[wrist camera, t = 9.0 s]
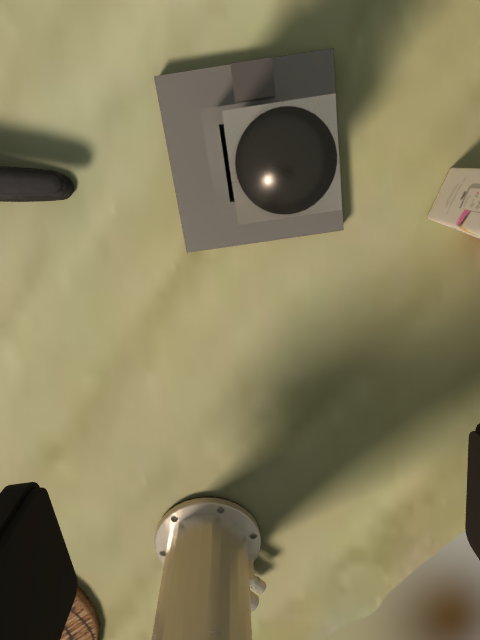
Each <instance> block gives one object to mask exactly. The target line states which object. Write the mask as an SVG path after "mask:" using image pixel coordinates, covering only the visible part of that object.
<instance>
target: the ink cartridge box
mask: <svg viewBox="0 0 480 640" xmlns="http://www.w3.org/2000/svg"><path fill="white" fill-rule="evenodd" d="M427 218H428V219H430V220H433V221H435V222H438V223H440V224H443V225H445V226H448V227H450V228H453V229H455V230H458V231H461V232H463V233H466V234H468V235H471V236H474V237H476V238H479V239H480V168H454V167H452V168H451V169H450V170H449V172H448V174H447V177H446V179H445V181H444V183H443V185H442V187H441V189H440V191H439V193H438V195H437V197H436V200H435V202H434V204H433V206H432V208H431V210H430V212H429V214H428V217H427Z"/></svg>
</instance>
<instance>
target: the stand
mask: <svg viewBox="0 0 480 640" xmlns="http://www.w3.org/2000/svg"><path fill="white" fill-rule="evenodd" d="M154 79H155V84H156V90H157V95H158V101H159V106H160V111H161V117H162V122H163V127H164V133H165V138H166V143H167V149H168V154H169V160H170V165H171V170H172V176H173V181H174V186H175V192H176V197H177V202H178V208H179V213H180V218H181V224H182V229H183V235H184V240H185V245H186V251H187V253H188V252H195V251H202V250H209V249H216V248H223V247H230V246H237V245H244V244H251V243H258V242H265V241H272V240H278V239H285V238H292V237H299V236H306V235H313V234H320V233H327V232H334V231H341V230H344V229H343V211H342V210H337V211H330V212H324V213H317V214H310V215H303V216H296V217H289V218H282V219H275V220H269V221H262V222H255V223H248V224H241V225H238V222H237V215H236V208H235V200H234V195H233V188H232V181H231V174H230V167H229V160H228V153H227V146H226V138H225V131H224V122H223V115H222V111H224V110H230V109H237V108H243V107H250V106H256V105H263V104H269V103H276V102H282V101H289V100H295V99H302V98H308V97H315V96H321V95H328V94H334V93H335V94H336V84H335V66H334V48H330V49H324V50H318V51H311V52H305V53H299V54H292V55H286V56H280V57H273V58H272V57H269V58H263V59H256V60H250V61H244V62H237V63H231V64H229V65H222V66H216V67H210V68H203V69H197V70H191V71H184V72H178V73H172V74H165V75H159V76H154ZM336 112H337V102H336ZM337 130H338V120H337ZM338 148H339V139H338ZM339 166H340V157H339ZM340 184H341V175H340ZM341 202H342V193H341Z"/></svg>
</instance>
